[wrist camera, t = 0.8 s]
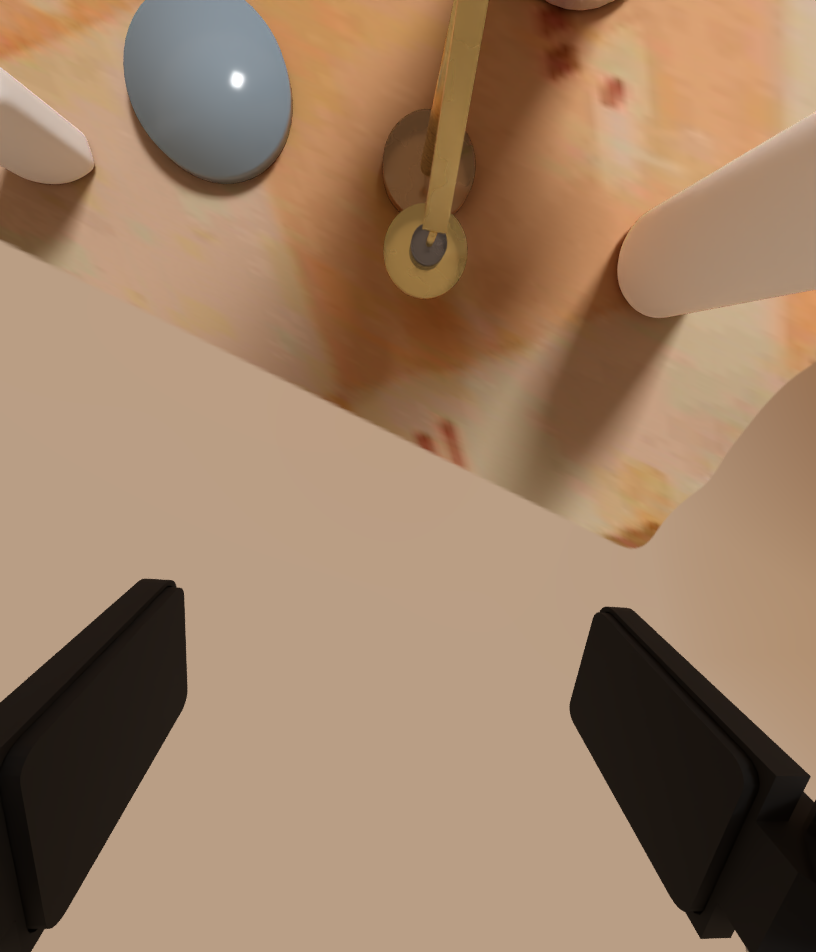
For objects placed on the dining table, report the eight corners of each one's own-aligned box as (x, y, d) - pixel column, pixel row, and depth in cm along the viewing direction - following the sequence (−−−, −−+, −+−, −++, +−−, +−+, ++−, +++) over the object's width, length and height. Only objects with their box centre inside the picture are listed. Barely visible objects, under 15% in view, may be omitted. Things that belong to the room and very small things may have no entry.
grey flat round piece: (131, -23, 26) (120, -41, 25) (298, 19, 27) (294, 3, 26) (136, 166, 29) (126, 158, 27) (287, 197, 30) (283, 190, 29)
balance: (403, -13, 27) (448, -692, 10) (498, 13, 28) (697, -575, 11) (366, 311, 32) (353, 242, 15) (447, 325, 33) (523, 274, 16)
